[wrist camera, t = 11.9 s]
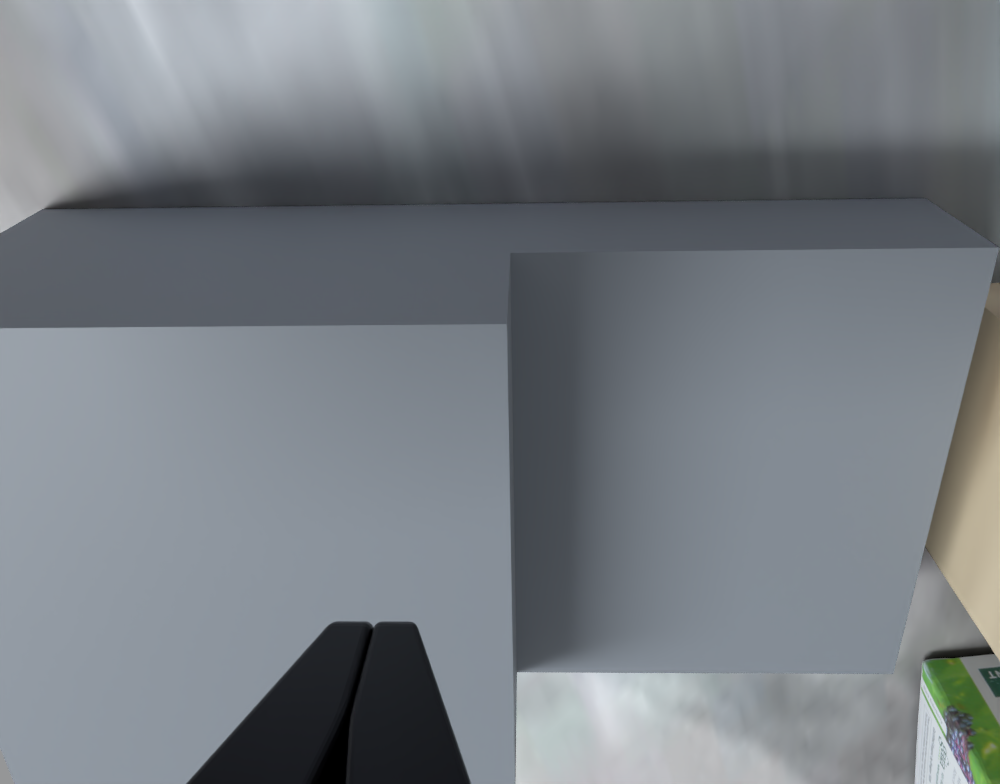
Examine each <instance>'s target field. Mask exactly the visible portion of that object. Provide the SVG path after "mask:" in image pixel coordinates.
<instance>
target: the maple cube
mask: <svg viewBox="0 0 1000 784" xmlns="http://www.w3.org/2000/svg"><path fill="white" fill-rule="evenodd" d="M925 547H926V549H927V550H928V552H929V553H930V555H931V556H932V558H933V559H934V561H935V563H936V564H937V566H938V567H939V569H940V570H941V572H942V573H943V575H944V576H945V578H946V579H947V581H948V583H949V584H950V586H951V587H952V589H953V590H954V592H955V593H956V595H957V596H958V598H959V599H960V601H961V602H962V604H963V606H964V607H965V609H966V610H967V612H968V613H969V615H970V616H971V618H972V619H973V621H974V622H975V624H976V626H977V627H978V629H979V630H980V632H981V633H982V635H983V636H984V638H985V639H986V641H987V642H988V644H989V645H990V647H991V649H992V650H993V652H994V653H995V655H996V656H997V658H998V659H999V661H1000V283H991V284H990V288H989V292H988V296H987V300H986V304H985V308H984V312H983V316H982V320H981V324H980V328H979V332H978V336H977V340H976V344H975V348H974V352H973V356H972V360H971V364H970V368H969V372H968V376H967V380H966V384H965V388H964V392H963V396H962V400H961V404H960V408H959V412H958V416H957V420H956V424H955V428H954V432H953V436H952V440H951V444H950V448H949V452H948V456H947V460H946V464H945V468H944V472H943V476H942V480H941V484H940V488H939V492H938V496H937V500H936V504H935V508H934V512H933V516H932V520H931V524H930V528H929V532H928V536H927V540H926V544H925Z"/></svg>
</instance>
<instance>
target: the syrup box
mask: <svg viewBox="0 0 1000 784" xmlns="http://www.w3.org/2000/svg"><path fill="white" fill-rule="evenodd" d="M915 784H1000V661H999V659H998V658H997V656H996V655H995V654H989V655H979V656H969V657H960V658H952V659H950V658H938V659H929V660H925V661H923V663H922V675H921V687H920V703H919V716H918V732H917V746H916V767H915Z"/></svg>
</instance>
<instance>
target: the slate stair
mask: <svg viewBox="0 0 1000 784" xmlns="http://www.w3.org/2000/svg"><path fill="white" fill-rule="evenodd" d="M998 252H999V247H998V246H996V245H995V244H993V243H992V242H990V241H989V240H987V239H986V238H984V237H983V236H982V235H980V234H979V233H977V232H976V231H974V230H973V229H971V228H970V227H968V226H967V225H965V224H964V223H962V222H961V221H959V220H958V219H956V218H955V217H953V216H952V215H950V214H949V213H947V212H946V211H944V210H943V209H941V208H940V207H938V206H937V205H935V204H934V203H932V202H931V201H929V200H928V199H926V198H912V199H832V200H753V201H673V202H594V203H515V204H435V205H356V206H277V207H197V208H118V209H42V210H40V211H39V212H37V213H35V214H33V215H32V216H30V217H28V218H26V219H25V220H23V221H21V222H19V223H18V224H16V225H14V226H13V227H11V228H9V229H7V230H6V231H4V232H2V233H0V748H1V751H2V754H3V756H4V759H5V761H6V764H7V766H8V769H9V771H10V773H11V776H12V779H13V781H14V784H186V783H187V782H188V781H189V780H190V779H191V778H192V776H193V775H194V774H195V773H196V772H197V771H198V770H199V769H200V767H201V766H202V765H203V764H204V763H205V762H206V761H207V760H208V759H209V757H210V756H211V755H212V754H213V753H214V752H215V751H216V750H217V749H218V747H219V746H220V745H221V744H222V743H223V742H224V741H225V740H226V738H227V737H228V736H229V735H230V734H231V733H232V732H233V731H234V730H235V728H236V727H237V726H238V725H239V724H240V723H241V722H242V721H243V719H244V718H245V717H246V716H247V715H248V714H249V713H250V712H251V711H252V709H253V708H254V707H255V706H256V705H257V704H258V703H259V702H260V700H261V699H262V698H263V697H264V696H265V695H266V694H267V693H268V692H269V690H270V689H271V688H272V687H273V686H274V685H275V684H276V683H277V681H278V680H279V679H280V678H281V677H282V676H283V675H284V674H285V673H286V671H287V670H288V669H289V668H290V667H291V666H292V665H293V664H294V662H295V661H296V660H297V659H298V658H299V657H300V656H301V655H302V654H303V652H304V651H305V650H306V649H307V648H308V647H309V646H310V645H311V644H312V642H313V641H314V640H315V639H316V638H317V637H318V636H319V635H320V633H321V632H322V631H323V630H324V629H325V628H326V627H327V626H328V625H329V624H331V623H332V622H336V621H367V622H369V623H371V624H372V625H373V627H374V626H375V625H376V624H377V623H378V622H381V621H409V622H413V623H415V624H416V625H417V627H418V629H419V632H420V635H421V638H422V641H423V644H424V647H425V650H426V653H427V656H428V658H429V661H430V664H431V667H432V670H433V673H434V676H435V679H436V682H437V685H438V688H439V691H440V693H441V696H442V699H443V702H444V705H445V708H446V711H447V714H448V717H449V720H450V723H451V726H452V729H453V731H454V734H455V737H456V740H457V743H458V746H459V749H460V752H461V755H462V758H463V761H464V764H465V767H466V769H467V772H468V775H469V778H470V781H471V784H515V770H516V689H517V672H600V673H824V674H893V673H894V669H895V665H896V661H897V657H898V653H899V649H900V645H901V641H902V637H903V633H904V629H905V625H906V621H907V617H908V613H909V609H910V605H911V601H912V596H913V592H914V588H915V584H916V580H917V576H918V572H919V568H920V564H921V560H922V556H923V552H924V548H925V544H926V540H927V536H928V532H929V528H930V524H931V520H932V516H933V512H934V508H935V504H936V500H937V496H938V492H939V488H940V484H941V480H942V476H943V472H944V468H945V464H946V460H947V456H948V452H949V448H950V444H951V440H952V436H953V432H954V428H955V424H956V420H957V416H958V412H959V408H960V404H961V400H962V396H963V392H964V388H965V384H966V380H967V376H968V372H969V368H970V364H971V360H972V356H973V352H974V348H975V344H976V340H977V336H978V332H979V328H980V324H981V320H982V316H983V312H984V308H985V304H986V300H987V296H988V292H989V288H990V284H991V280H992V276H993V272H994V268H995V264H996V260H997V256H998Z"/></svg>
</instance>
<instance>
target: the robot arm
mask: <svg viewBox="0 0 1000 784" xmlns="http://www.w3.org/2000/svg"><path fill="white" fill-rule="evenodd" d="M186 784H471V781H470V778H469V775H468V772H467V769H466V767H465V764H464V761H463V758H462V755H461V752H460V749H459V746H458V743H457V740H456V737H455V734H454V731H453V729H452V726H451V723H450V720H449V717H448V714H447V711H446V708H445V705H444V702H443V699H442V696H441V693H440V691H439V688H438V685H437V682H436V679H435V676H434V673H433V670H432V667H431V664H430V661H429V658H428V656H427V653H426V650H425V647H424V644H423V641H422V638H421V635H420V632H419V629H418V627H417V625H416V624H415V623H413V622H409V621H381V622H378V623H377V624H376V625H375V626H374V627H373V625H372V624H371V623H369V622H367V621H336V622H332V623H331V624H329V625H328V626H327V627H326V628H325V629H324V630H323V631H322V632H321V633H320V635H319V636H318V637H317V638H316V639H315V640H314V641H313V642H312V644H311V645H310V646H309V647H308V648H307V649H306V650H305V651H304V652H303V654H302V655H301V656H300V657H299V658H298V659H297V660H296V661H295V662H294V664H293V665H292V666H291V667H290V668H289V669H288V670H287V671H286V673H285V674H284V675H283V676H282V677H281V678H280V679H279V680H278V681H277V683H276V684H275V685H274V686H273V687H272V688H271V689H270V690H269V692H268V693H267V694H266V695H265V696H264V697H263V698H262V699H261V700H260V702H259V703H258V704H257V705H256V706H255V707H254V708H253V709H252V711H251V712H250V713H249V714H248V715H247V716H246V717H245V718H244V719H243V721H242V722H241V723H240V724H239V725H238V726H237V727H236V728H235V730H234V731H233V732H232V733H231V734H230V735H229V736H228V737H227V738H226V740H225V741H224V742H223V743H222V744H221V745H220V746H219V747H218V749H217V750H216V751H215V752H214V753H213V754H212V755H211V756H210V757H209V759H208V760H207V761H206V762H205V763H204V764H203V765H202V766H201V767H200V769H199V770H198V771H197V772H196V773H195V774H194V775H193V776H192V778H191V779H190V780H189V781H188V782H187V783H186Z"/></svg>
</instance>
